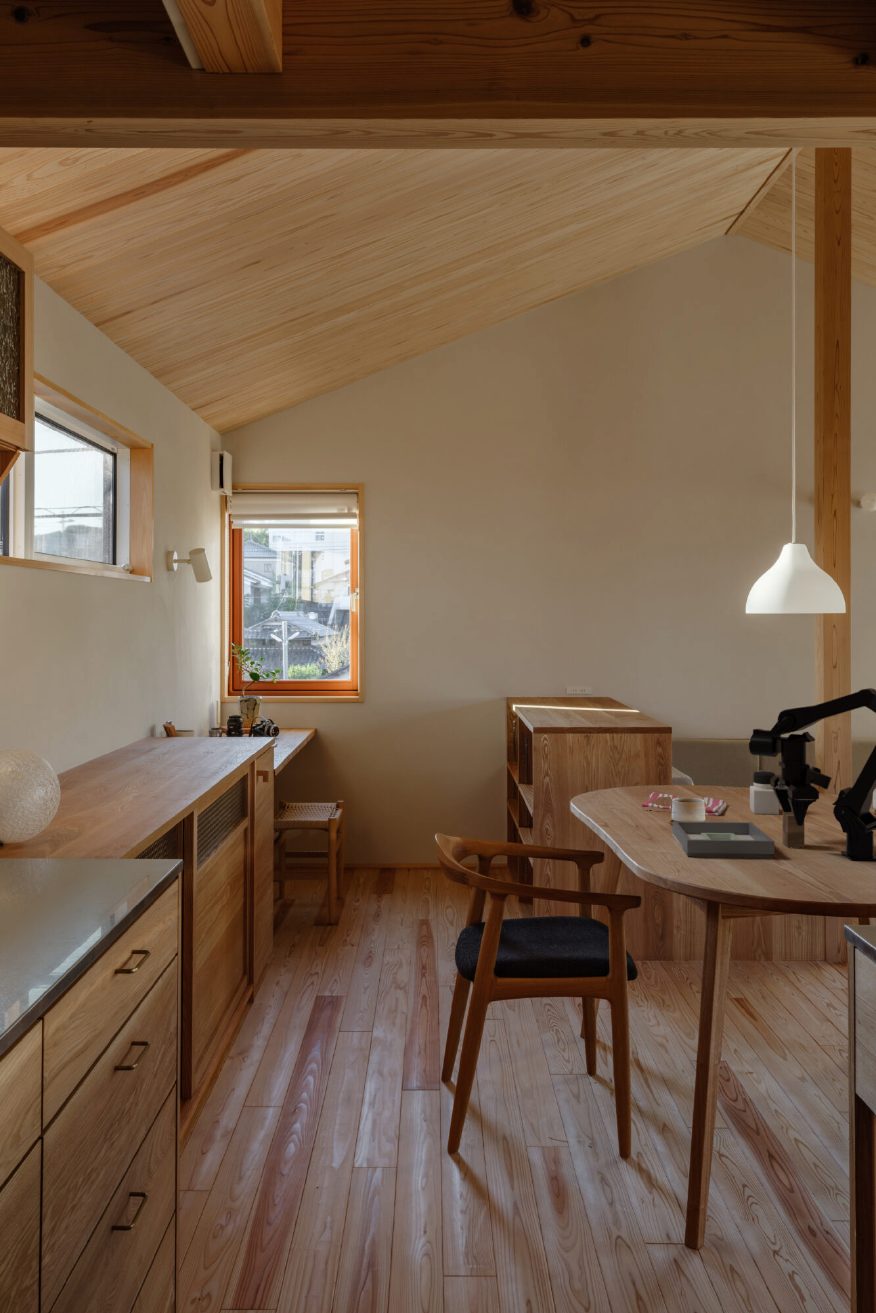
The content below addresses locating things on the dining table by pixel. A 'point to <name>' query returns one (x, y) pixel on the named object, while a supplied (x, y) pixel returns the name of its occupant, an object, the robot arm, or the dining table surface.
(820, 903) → the dining table surface
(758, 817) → the dining table surface
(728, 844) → the walled box
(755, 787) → the medicine bottle
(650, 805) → the dish towel
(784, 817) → the peg
